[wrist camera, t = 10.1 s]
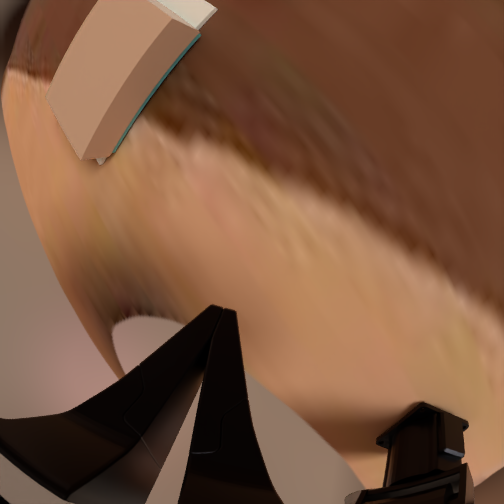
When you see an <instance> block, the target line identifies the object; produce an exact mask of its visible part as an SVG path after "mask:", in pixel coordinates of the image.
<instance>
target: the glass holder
mask: <svg viewBox="0 0 504 504" xmlns="http://www.w3.org/2000/svg"><path fill="white" fill-rule="evenodd" d="M369 490H372V489H369ZM361 491H362V490H361ZM361 491H357V492H354V493H351V494H349V495H348V496H346V498H345V504H355V503H356V501H357V499H358V497H359V495H360V493H361Z"/></svg>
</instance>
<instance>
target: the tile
mask: <svg viewBox="0 0 504 504" xmlns="http://www.w3.org/2000/svg"><path fill="white" fill-rule="evenodd" d="M199 33H200V31H198V30H197V29H196V28H195V27H193V26H192V25H191V24H189V23H188V22H187V21H185V20H184V19H183V18H181V17H180V16H179V15H177V14H176V13H174V12H173V11H172V10H170V9H169V8H167V7H166V6H165V5H163V4H162V3H160V2H159V1H157V0H98V2H97V3H96V4H95V6H94V7H93V9H92V10H91V12H90V13H89V15H88V16H87V18H86V19H85V21H84V23H83V24H82V26H81V27H80V29H79V31H78V32H77V34H76V36H75V38H74V39H73V41H72V43H71V45H70V46H69V48H68V50H67V52H66V54H65V56H64V58H63V59H62V61H61V63H60V65H59V67H58V69H57V71H56V74H55V76H54V78H53V80H52V82H51V84H50V87H49V89H48V91H47V93H46V96H45V98H46V100H47V102H48V104H49V106H50V108H51V109H52V111H53V113H54V115H55V117H56V119H57V121H58V122H59V124H60V126H61V128H62V130H63V132H64V133H65V135H66V137H67V139H68V140H69V142H70V144H71V145H72V147H73V149H74V151H75V152H76V154H77V156H78V157H79V159H80V161H82V160H88V159H95V158H102V157H110V155H111V153H115V151H116V150H117V148H118V146H119V145H120V143H121V141H122V140H123V138H124V137H125V135H126V133H127V132H128V130H129V129H130V127H131V126H132V124H133V122H134V121H135V119H136V118H137V116H138V115H139V114H140V112H141V111H142V109H143V108H144V106H145V105H146V103H147V102H148V101H149V99H150V98H151V96H152V95H153V94H154V92H155V91H156V90H157V88H158V87H159V86H160V84H161V83H162V82H163V80H164V79H165V78H166V76H167V75H168V74H169V73H170V71H171V70H172V69H173V68H174V66H175V65H176V64H177V63H178V61H179V60H180V59H181V58H182V57H183V55H184V54H185V53H186V52H187V51H188V50H189V48H190V47H191V46H192V45H193V44H194V43H195V42H196V40H197V39H198V38H199V37H200V36H201V34H199Z"/></svg>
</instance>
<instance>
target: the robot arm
mask: <svg viewBox="0 0 504 504" xmlns="http://www.w3.org/2000/svg"><path fill="white" fill-rule="evenodd" d="M202 381H203V382H202ZM201 383H202V387H201V392H200V397H199V403H198V408H197V413H196V418H195V423H194V429H193V434H192V440H191V445H190V450H189V457H188V462H187V466H186V471H185V476H184V480H183V484H182V488H181V492H180V496H179V500H178V504H284V503H283V502H282V500H281V498H280V497H279V496H278V494H277V492H276V490H275V488H274V486H273V484H272V482H271V480H270V477H269V474H268V472H267V469H266V466H265V463H264V460H263V457H262V454H261V451H260V448H259V445H258V442H257V438H256V434H255V431H254V427H253V423H252V418H251V412H250V406H249V400H248V393H247V386H246V379H245V372H244V365H243V357H242V350H241V342H240V335H239V327H238V320H237V312H236V311H235V310H232V309H228V308H224V309H223V307H221V306H217V305H213V304H212V305H210V306H208V307H207V308H206V309H205V310H204V311H202V312H201V313H200V314H199V315H198V316H197V317H195V318H194V319H193V320H192V321H191V322H189V323H188V324H187V325H186V326H185V327H183V328H182V329H181V330H180V331H179V332H177V333H176V334H175V335H174V336H173V337H171V338H170V339H169V340H168V341H167V342H165V343H164V344H163V345H162V346H161V347H159V348H158V349H157V350H156V351H155V352H153V353H152V354H151V355H150V356H148V357H147V358H146V359H145V360H144V361H142V362H141V363H140V366H139V365H138V366H136V367H135V368H134V369H133V370H131V371H130V372H129V373H128V374H126V375H125V376H124V377H122V378H121V379H120V380H118V381H117V382H116V383H114V384H112V385H111V386H109V387H108V388H106V389H105V390H103V391H102V392H100V393H98V394H97V395H95V396H93V397H92V398H90V399H89V400H87V401H85V402H83V403H82V404H80V405H78V406H77V407H75V408H73V409H71V410H69V411H66V412H64V413H60V414H54V415H47V416H39V417H30V418H19V419H2V418H0V504H145V503H146V501H147V498H148V496H149V494H150V492H151V490H152V488H153V486H154V484H155V482H156V479H157V477H158V475H159V473H160V471H161V469H162V467H163V465H164V462H165V460H166V458H167V456H168V454H169V452H170V450H171V447H172V445H173V443H174V441H175V439H176V436H177V435H178V433H179V430H180V428H181V426H182V424H183V422H184V420H185V418H186V415H187V413H188V411H189V409H190V407H191V405H192V402H193V400H194V398H195V396H196V394H197V392H198V389H199V387H200V385H201ZM423 408H424V409H423ZM468 427H469V424H468V421H466V420H463V419H461V418H459V417H456V416H454V415H452V414H450V413H447V412H445V411H443V410H440V409H438V408H436V407H434V406H431V405H429V404H427V403H421V404H419V405H418V406H417V407H415V408H414V409H413V410H412V411H411V412H410V413H408V414H407V415H406V416H405V417H404V418H402V419H401V420H400V421H399V422H398V423H396V424H395V425H394V426H392V427H391V428H390V429H389V430H387V431H386V432H385V433H383V434H382V435H381V436H379V437H378V438H377V440H376V444H377V445H379V446H382V447H384V448H387V449H388V455H387V463H386V469H385V475H384V481H383V487H382V488H378V489H372V490H369V489H367V490H362V491H361V493H360V495H359V497H358V499H357V501H356V503H355V504H474V484H473V479H472V476H471V473H470V470H469V466H468V463H464V464H462V462H461V458H463V457H464V455H465V449H464V437H463V432H464V431H465V430H466V429H467V428H468Z"/></svg>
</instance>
